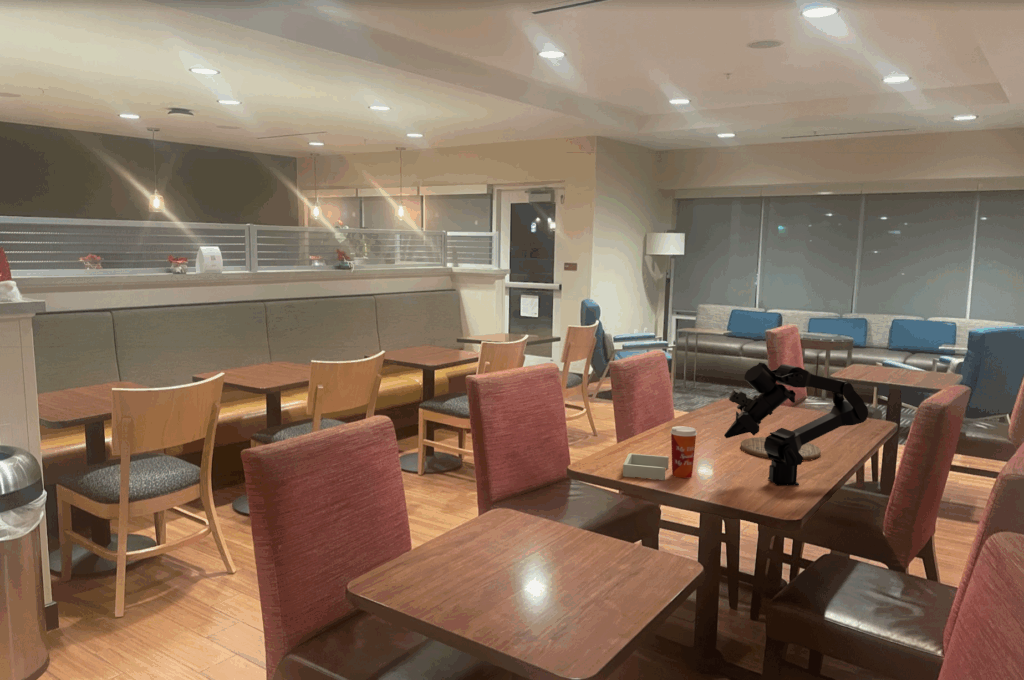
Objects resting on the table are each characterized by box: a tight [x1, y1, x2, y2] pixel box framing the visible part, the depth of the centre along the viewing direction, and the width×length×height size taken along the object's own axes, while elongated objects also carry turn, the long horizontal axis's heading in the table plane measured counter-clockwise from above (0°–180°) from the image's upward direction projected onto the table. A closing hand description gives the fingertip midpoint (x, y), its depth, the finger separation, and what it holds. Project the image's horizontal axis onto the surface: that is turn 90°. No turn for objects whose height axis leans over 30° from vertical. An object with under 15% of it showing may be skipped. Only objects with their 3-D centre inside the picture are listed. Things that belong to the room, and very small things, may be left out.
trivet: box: [740, 436, 822, 461], centre depth 235 cm, size 25×25×2 cm
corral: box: [622, 452, 670, 481], centre depth 209 cm, size 12×13×4 cm
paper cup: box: [669, 425, 698, 479], centre depth 206 cm, size 8×8×14 cm
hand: (725, 436), depth 202 cm, fingers closed
